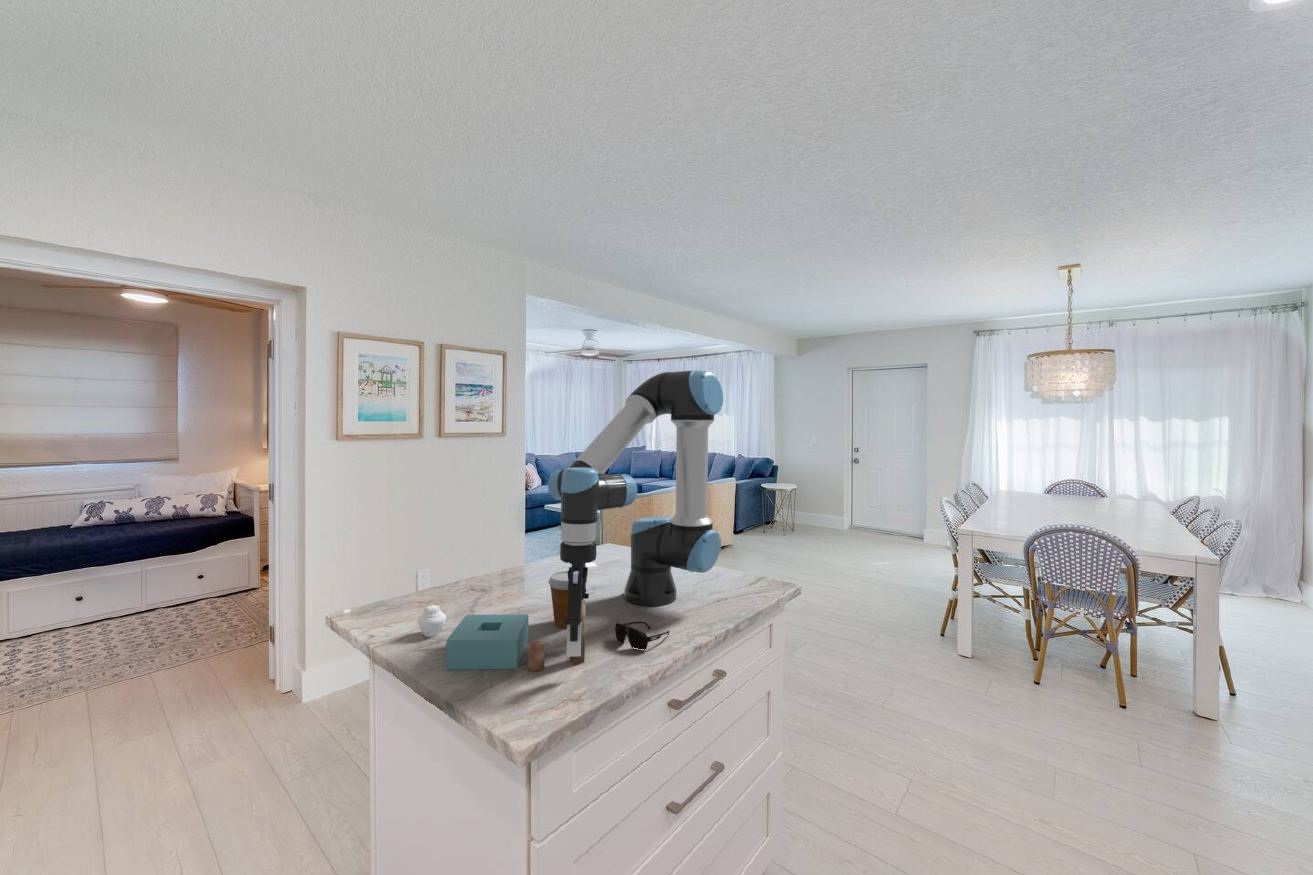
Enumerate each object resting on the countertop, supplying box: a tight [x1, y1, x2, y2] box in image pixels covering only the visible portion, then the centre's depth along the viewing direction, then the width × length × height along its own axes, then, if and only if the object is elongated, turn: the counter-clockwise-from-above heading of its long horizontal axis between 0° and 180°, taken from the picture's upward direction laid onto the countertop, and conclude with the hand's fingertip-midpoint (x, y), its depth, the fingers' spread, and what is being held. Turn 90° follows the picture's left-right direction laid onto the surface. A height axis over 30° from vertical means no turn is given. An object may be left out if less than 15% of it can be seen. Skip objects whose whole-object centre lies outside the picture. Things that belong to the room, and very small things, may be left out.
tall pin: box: [568, 603, 586, 665], centre depth 111 cm, size 3×3×12 cm
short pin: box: [527, 640, 546, 673], centre depth 107 cm, size 3×3×5 cm
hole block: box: [445, 613, 530, 671], centre depth 114 cm, size 14×14×6 cm
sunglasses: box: [614, 621, 670, 651], centre depth 123 cm, size 10×12×5 cm
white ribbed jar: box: [417, 604, 447, 638], centre depth 123 cm, size 6×6×7 cm
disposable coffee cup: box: [548, 570, 569, 629], centre depth 132 cm, size 10×10×12 cm
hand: (576, 641), depth 111 cm, fingers open, 13 cm apart
